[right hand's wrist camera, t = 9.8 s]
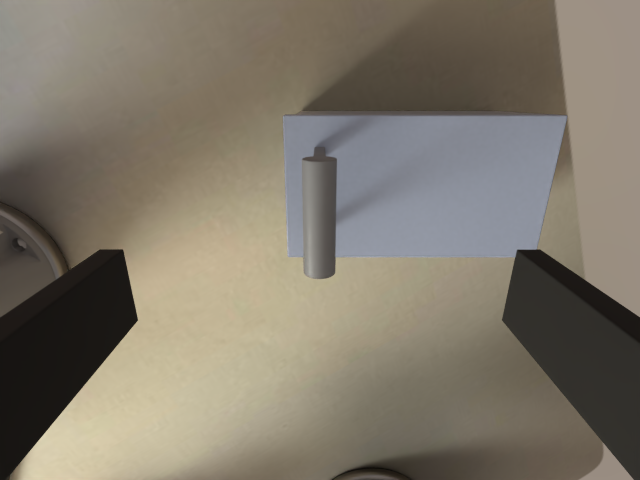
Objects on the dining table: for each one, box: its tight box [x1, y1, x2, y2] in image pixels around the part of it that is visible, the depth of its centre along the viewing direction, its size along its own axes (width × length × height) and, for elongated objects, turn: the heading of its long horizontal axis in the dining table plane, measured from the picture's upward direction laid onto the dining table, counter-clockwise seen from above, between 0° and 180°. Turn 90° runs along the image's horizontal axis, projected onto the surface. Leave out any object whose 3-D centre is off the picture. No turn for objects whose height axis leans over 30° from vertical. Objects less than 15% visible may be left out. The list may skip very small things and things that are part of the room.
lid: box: [283, 115, 567, 279], centre depth 22 cm, size 18×10×8 cm, turn 90°
